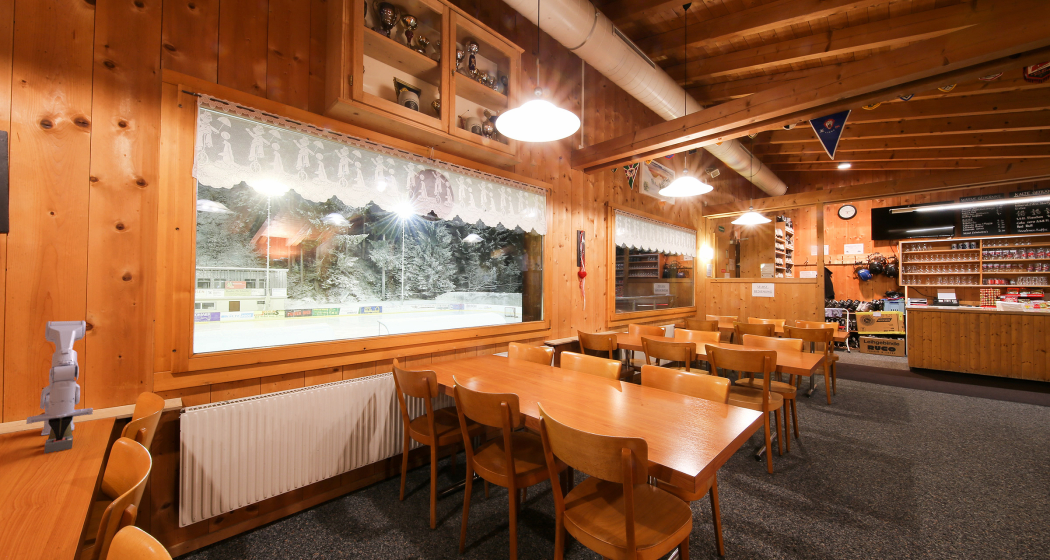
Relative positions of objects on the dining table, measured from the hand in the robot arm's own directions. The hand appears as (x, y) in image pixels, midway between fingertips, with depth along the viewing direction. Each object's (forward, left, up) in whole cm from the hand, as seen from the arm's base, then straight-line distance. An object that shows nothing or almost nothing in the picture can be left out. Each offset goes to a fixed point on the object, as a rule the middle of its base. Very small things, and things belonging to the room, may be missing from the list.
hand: (59, 439), depth 131 cm
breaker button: (0, 0, -2) cm, 2 cm away
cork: (-8, 0, -3) cm, 9 cm away
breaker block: (0, 0, -3) cm, 3 cm away
